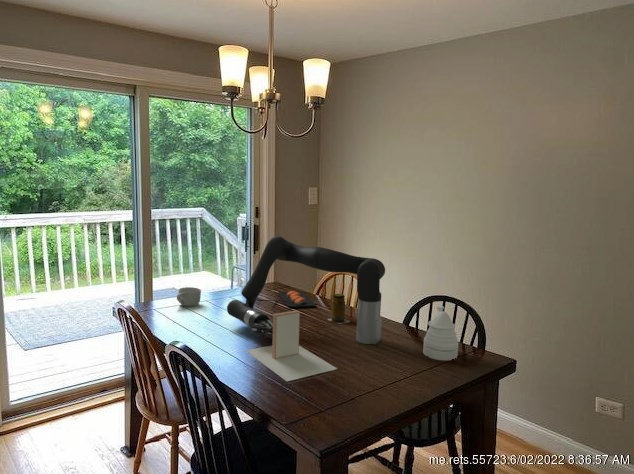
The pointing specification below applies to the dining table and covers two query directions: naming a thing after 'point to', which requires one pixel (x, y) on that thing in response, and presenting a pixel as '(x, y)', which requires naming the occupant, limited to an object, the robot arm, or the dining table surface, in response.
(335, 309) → the condiment
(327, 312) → the dining table surface
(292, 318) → the tile
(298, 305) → the sushi plate
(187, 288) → the teacup
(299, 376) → the mat
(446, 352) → the honey pot
